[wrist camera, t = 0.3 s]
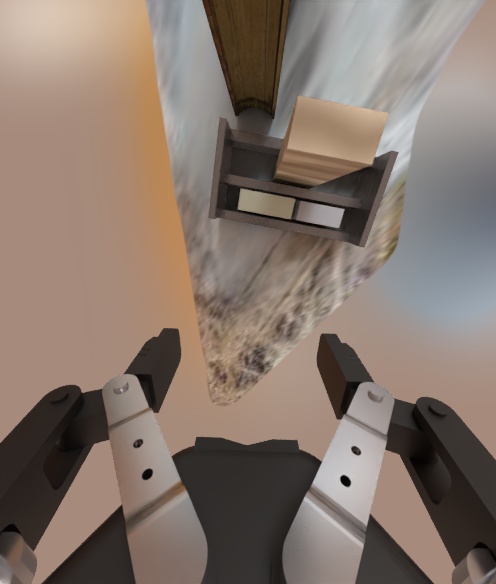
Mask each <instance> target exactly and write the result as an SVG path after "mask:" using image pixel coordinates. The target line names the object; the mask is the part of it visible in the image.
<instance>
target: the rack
mask: <svg viewBox="0 0 496 584" xmlns="http://www.w3.org/2000/svg"><path fill="white" fill-rule="evenodd" d="M283 140H284V139H279V138H273V137H268V136H263V135H258V134H253V133H248V132H242V131H237V130H232V129H231V128H230V126H229V123H228V121H227V119H226V118H221V117H220V121H219V130H218V139H217V147H216V156H215V165H214V174H213V183H212V192H211V201H210V210H209V218H212V219H216V218H224V219H230V220H235V221H240V222H245V223H251V224H256V225H261V226H266V227H272V228H277V229H282V230H287V231H292V232H298V233H303V234H308V235H313V236H319V237H324V238H329V239H334V240H340V241H345V242H349V243H352V244H354V245H356V246H359V247H365V244H366V241H367V239H368V236H369V233H370V230H371V227H372V225H373V222H374V219H375V216H376V213H377V211H378V208H379V205H380V202H381V200H382V197H383V194H384V191H385V188H386V186H387V183H388V180H389V177H390V174H391V172H392V169H393V166H394V163H395V160H396V158H397V155H398V152H395V151H390V152H388V153H386V154H383V155H381V156H379V157H374V160H373V163H372V165H370V166H367V167H365V168H362V169H359V170H357V171H361V174H360V177H359V180H358V184H357V187H356V190H355V193H354V196H353V198H350V197H345V196H340V195H335V194H330V193H324V192H319V191H314V190H309V189H304V188H298V187H293V186H288V185H283V184H278V183H272V182H267V181H262V180H257V179H252V178H246V177H241V176H236V175H231V174H229V172H230V165H231V158H232V150H233V147H237V148H243V149H248V150H253V151H258V152H263V153H268V154H274V155H279V153H280V150H281V146H282V143H283ZM228 185H231V186H236V187H241V188H246V189H251V190H257V191H262V192H267V193H272V194H278V195H283V196H288V197H293V198H298V199H304V200H309V201H314V202H319V203H324V204H330V205H335V206H340V207H345V208H350V209H349V212H348V215H347V218H346V222H345V225H344V228H343V231H337V230H332V229H326V228H321V227H316V226H311V225H306V224H300V223H295V222H290V221H285V220H279V219H274V218H269V217H264V216H258V215H253V214H248V213H243V212H237V211H232V210H227V209H225V202H226V195H227V187H228Z"/></svg>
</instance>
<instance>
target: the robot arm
mask: <svg viewBox="0 0 496 584" xmlns="http://www.w3.org/2000/svg"><path fill="white" fill-rule="evenodd" d="M180 359H181V346H180V337H179V330H178V329H172V328H164V329H163V330H162V331H161V333H160V335H159V336H158V337H153V338H151V339H150V340H148V341H147V342H146V343H145V344H144V346H143V347H142V349H141V351H140V352H139V353H138V355H137V356H136V357H135V359H134V360H133V361H132V363H131V364H130V366H129V367H128V369H127V370H126V372H125V373H124V375H120V376H117V377H115V378H113V379H112V380H110V381H109V382H108V383H106V385H105V386H104V387H103V389H100V390H94V391H90V392H85V393H82V392H81V389H80V388H79V387H78V386H76V385H66V386H62V387H59V388H57V389H55V390H53V391H51V392H49V393H48V394H47V395H45V396H44V397H43V398H42V399H41V400H40V401H39V403H37V405H36V406H35V407H34V408H33V409H32V410H31V411H30V412H29V413H28V414H27V415H26V416H25V417H24V418H23V419H22V421H21V422H20V423H19V424H18V425H17V426H16V427H15V428H14V429H13V430H12V431H11V433H9V435H8V436H7V437H6V438H5V439H4V440H3V441H2V442H1V443H0V584H31V583H32V580H33V578H34V576H35V572H36V568H37V558H36V555H35V553H34V550H35V548H36V546H37V544H38V543H39V541H40V539H41V537H42V536H43V534H44V532H45V530H46V528H47V527H48V525H49V523H50V521H51V520H52V518H53V516H54V514H55V512H56V511H57V509H58V507H59V505H60V504H61V502H62V500H63V498H64V496H65V494H66V493H67V491H68V489H69V487H70V486H71V484H72V482H73V480H74V479H75V477H76V475H77V473H78V471H79V470H80V468H81V466H82V464H83V462H84V461H85V459H86V457H87V455H88V453H89V452H90V450H91V448H92V446H93V445H94V444H95V443H99V442H102V441H106V440H110V444H111V449H112V454H113V459H114V465H115V470H116V475H117V480H118V486H119V490H120V496H121V501H122V505H121V506H120V507H119V508H118V509H117V510H116V511H115V512H114V513H113V514H112V515H111V516H110V517H109V518H108V519H106V520H105V521H104V523H103V524H101V525H100V526H99V527H98V528H97V529H96V530H95V531H94V532H93V533H92V534H91V535H90V536H89V537H88V538H87V539H86V540H85V541H84V542H83V543H82V544H81V545H80V546H79V547H78V548H77V549H76V550H75V551H74V552H73V553H72V554H71V555H70V556H69V557H68V558H67V559H66V560H65V561H64V562H63V563H62V564H61V565H60V566H59V567H58V568H57V569H56V570H55V571H54V572H53V573H52V574H51V575H50V576H49V577H48V578H47V579H46V580H45V581H44V582H43V583H42V584H434V583H433V582H432V581H431V580H430V579H429V578H428V577H427V575H426V574H425V573H424V572H423V571H422V570H421V569H420V568H419V567H418V566H417V564H415V562H414V561H413V560H412V559H411V558H410V557H409V556H408V555H407V554H406V553H405V552H404V550H403V549H402V548H401V547H400V546H399V545H398V544H397V543H396V542H395V540H394V539H393V538H392V537H391V536H390V535H389V534H388V533H387V532H386V531H385V529H384V528H383V527H382V526H381V525H380V524H379V523H378V522H377V521H376V520H375V518H374V517H373V516H372V515H371V514H370V511H371V506H372V502H373V498H374V494H375V489H376V485H377V481H378V477H379V472H380V468H381V464H382V460H383V455H384V451H385V450H388V451H391V452H394V453H397V454H399V455H400V457H401V459H402V461H403V463H404V465H405V467H406V469H407V471H408V473H409V475H410V477H411V479H412V481H413V483H414V485H415V487H416V489H417V491H418V493H419V495H420V497H421V499H422V501H423V503H424V505H425V507H426V509H427V511H428V513H429V515H430V517H431V519H432V521H433V523H434V525H435V527H436V529H437V531H438V533H439V535H440V537H441V539H442V541H443V543H444V545H445V547H446V549H447V551H448V553H449V555H450V557H451V559H452V561H453V563H454V565H455V569H454V570H453V573H452V584H496V460H495V459H494V458H493V456H492V455H491V454H490V453H489V452H488V450H487V449H486V448H485V447H484V446H483V444H482V443H481V442H480V441H479V440H478V439H477V438H476V436H475V435H474V434H473V433H472V432H471V430H470V429H469V428H468V427H467V426H466V425H465V423H464V422H463V421H462V420H461V418H460V417H459V416H458V415H457V414H456V413H455V412H454V410H452V409H451V408H450V407H449V406H447V405H446V404H444V403H443V402H441V401H439V400H436V399H434V398H429V397H421V398H419V399H418V400H417V401H416V404H411V403H408V402H404V401H401V400H397V399H395V398H394V397H393V395H392V394H391V393H390V392H389V391H388V390H387V389H386V388H384V387H383V386H381V385H379V384H376V383H374V381H373V380H372V378H371V376H370V375H369V373H368V372H367V370H366V368H365V367H364V365H363V364H362V363H361V361H360V359H359V358H358V356H357V354H356V353H355V351H354V350H353V349H352V348H351V347H350V346H349V345H347V344H346V343H341V342H340V340H339V338H338V336H337V335H336V334H321V336H320V342H319V347H318V352H317V366H318V369H319V372H320V375H321V377H322V380H323V383H324V385H325V388H326V390H327V394H328V396H329V399H330V402H331V404H332V407H333V410H334V412H335V415H336V418H337V419H342V420H341V422H340V424H339V427H338V429H337V431H336V433H335V435H334V437H333V440H332V442H331V444H330V446H329V449H328V450H327V453H326V455H325V457H324V459H323V461H322V462H321V461H320V460H319V459H317V458H316V457H315V456H313V455H311V454H309V453H307V452H305V451H303V450H300V449H299V447H298V441H297V440H273V439H272V440H268V441H264V442H260V443H256V444H251V445H243V444H240V443H237V442H233V441H230V440H226V439H224V438H213V437H196V441H195V446H192V447H189V448H186V449H184V450H182V451H180V452H178V453H176V454H175V455H173V456H172V457H171V455H170V452H169V450H168V447H167V445H166V442H165V440H164V437H163V435H162V433H161V430H160V427H159V425H158V423H157V420H156V418H155V415H154V413H158V412H159V410H160V408H161V405H162V403H163V401H164V398H165V396H166V394H167V391H168V389H169V386H170V384H171V382H172V379H173V377H174V375H175V372H176V370H177V367H178V365H179V362H180Z"/></svg>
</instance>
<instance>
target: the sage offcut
mask: <svg viewBox="0 0 496 584" xmlns="http://www.w3.org/2000/svg"><path fill="white" fill-rule="evenodd" d="M294 203H295V199H293V198H288V197H282V196H277V195H272V194H267V193H262V192H256V191H251V190H246V189H241V190H240V197H239V203H238V210H244V211H249V212H254V213H259V214H265V215H270V216H275V217H280V218H285V219H291V216H292V212H293V208H294Z"/></svg>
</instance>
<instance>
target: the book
mask: <svg viewBox="0 0 496 584" xmlns="http://www.w3.org/2000/svg"><path fill="white" fill-rule="evenodd" d="M202 1H203V5H204V8H205V12H206V15H207V19H208V22H209V26H210V29H211V33H212V36H213V40H214V43H215V47H216V50H217V53H218V57H219V60H220V64H221V67H222V71H223V74H224V78H225V81H226V85H227V88H228V92H229V95H230V99H231V102H232V106H233V109H234V112H235V115H236V116H239V113H240V112H241V111H243V110H244V109H247V108H251V107H255V108H259V109H262V110H264V111H266V112H267V113H269V114H270V115H271V116H272V118H271V119H274V116H275V109H276V102H277V95H278V87H279V80H280V73H281V66H282V59H283V51H284V44H285V37H286V30H287V23H288V15H289V8H290V1H291V0H202Z"/></svg>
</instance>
